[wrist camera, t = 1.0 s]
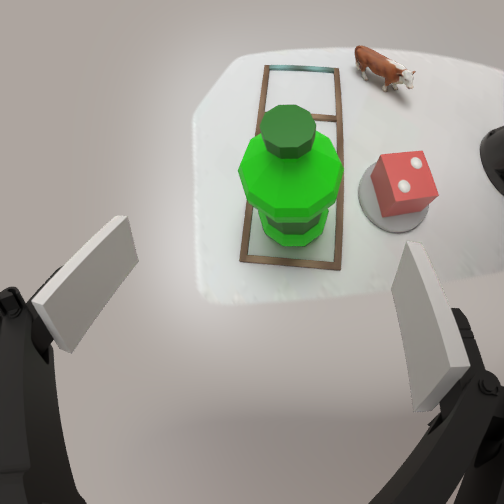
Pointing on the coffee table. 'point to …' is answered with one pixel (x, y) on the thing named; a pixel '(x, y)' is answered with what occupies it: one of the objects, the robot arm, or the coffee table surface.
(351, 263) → the coffee table surface
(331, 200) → the plastic bottle
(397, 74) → the bull figurine
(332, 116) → the walnut frame
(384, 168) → the red die stand
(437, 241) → the coffee table surface
